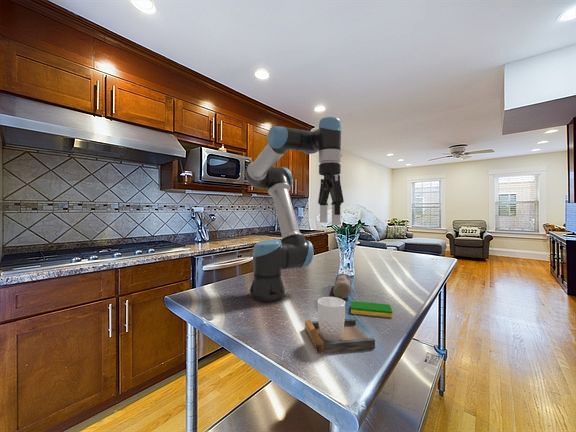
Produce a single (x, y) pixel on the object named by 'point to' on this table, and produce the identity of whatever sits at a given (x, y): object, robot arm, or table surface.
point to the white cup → (331, 318)
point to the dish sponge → (371, 309)
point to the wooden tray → (350, 340)
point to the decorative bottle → (342, 286)
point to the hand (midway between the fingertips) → (329, 223)
